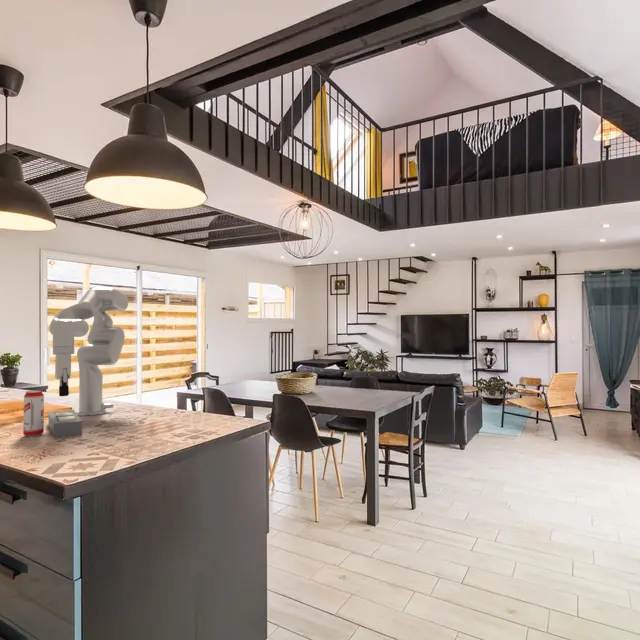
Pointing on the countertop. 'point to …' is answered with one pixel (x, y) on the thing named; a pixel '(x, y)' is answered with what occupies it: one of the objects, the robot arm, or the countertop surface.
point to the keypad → (65, 425)
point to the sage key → (64, 415)
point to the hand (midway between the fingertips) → (63, 395)
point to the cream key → (66, 418)
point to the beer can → (33, 413)
